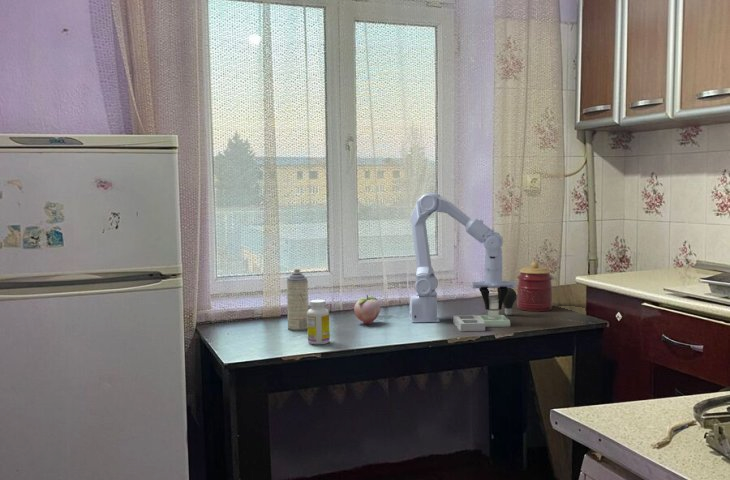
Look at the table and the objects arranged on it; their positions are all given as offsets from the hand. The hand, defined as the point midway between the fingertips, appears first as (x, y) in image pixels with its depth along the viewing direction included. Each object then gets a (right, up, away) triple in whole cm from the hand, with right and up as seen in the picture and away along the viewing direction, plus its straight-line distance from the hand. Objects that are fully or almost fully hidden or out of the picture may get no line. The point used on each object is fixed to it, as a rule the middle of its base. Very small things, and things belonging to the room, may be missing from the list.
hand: (493, 309), depth 236 cm
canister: (+20, -3, +26) cm, 33 cm away
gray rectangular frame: (-9, -6, -3) cm, 11 cm away
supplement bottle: (-57, -8, -22) cm, 62 cm away
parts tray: (0, -5, +1) cm, 5 cm away
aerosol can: (-65, -6, -4) cm, 66 cm away
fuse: (0, -3, 0) cm, 3 cm away
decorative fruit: (-43, -6, +2) cm, 43 cm away
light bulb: (+8, -4, +14) cm, 16 cm away
